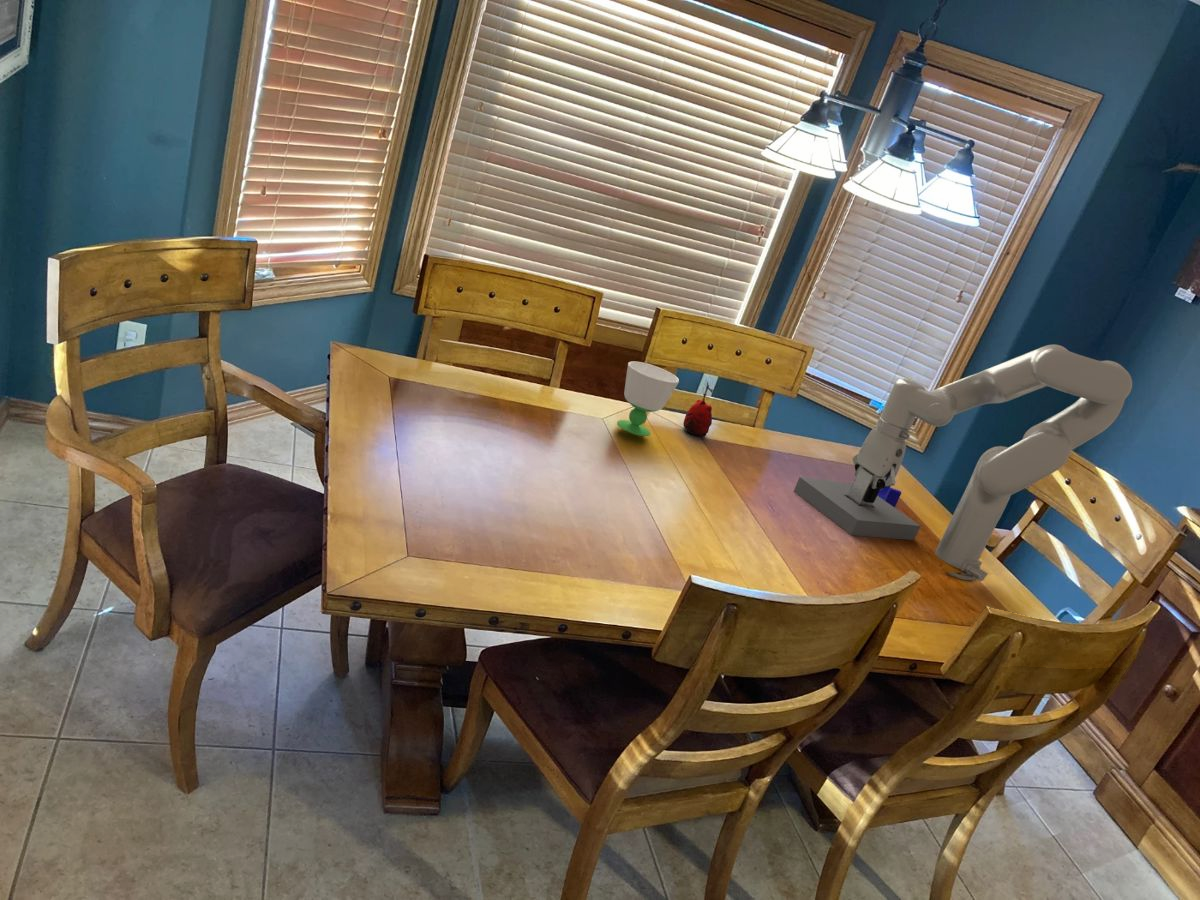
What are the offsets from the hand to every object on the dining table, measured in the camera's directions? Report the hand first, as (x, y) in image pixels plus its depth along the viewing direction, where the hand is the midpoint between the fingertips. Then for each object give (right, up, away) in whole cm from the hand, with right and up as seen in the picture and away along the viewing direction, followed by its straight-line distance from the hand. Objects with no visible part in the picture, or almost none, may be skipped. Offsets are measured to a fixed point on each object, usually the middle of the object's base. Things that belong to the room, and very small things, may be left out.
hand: (861, 496), depth 232 cm
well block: (-2, -5, +2) cm, 5 cm away
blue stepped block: (+10, -3, +21) cm, 23 cm away
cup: (-56, +17, +10) cm, 59 cm away
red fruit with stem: (-39, +16, +25) cm, 49 cm away
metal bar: (-1, -3, +1) cm, 3 cm away
